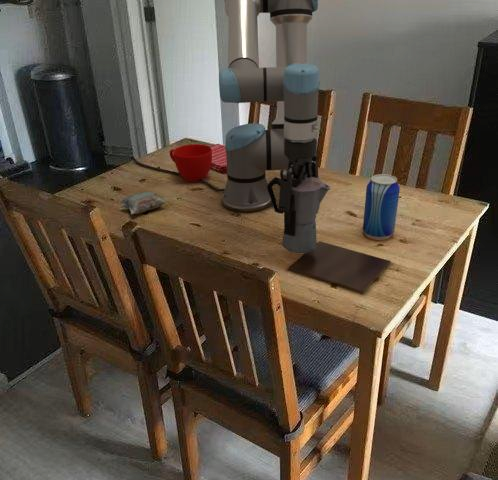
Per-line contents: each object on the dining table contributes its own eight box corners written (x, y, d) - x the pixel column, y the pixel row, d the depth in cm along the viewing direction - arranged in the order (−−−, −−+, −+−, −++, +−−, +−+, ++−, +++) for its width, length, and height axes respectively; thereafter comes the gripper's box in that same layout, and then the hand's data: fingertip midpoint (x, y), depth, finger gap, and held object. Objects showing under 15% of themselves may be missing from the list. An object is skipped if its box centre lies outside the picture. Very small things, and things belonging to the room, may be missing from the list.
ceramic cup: (184, 167, 196) (182, 140, 191) (221, 176, 187) (219, 147, 182) (160, 178, 187) (156, 150, 182) (197, 188, 179) (194, 159, 173)
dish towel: (224, 174, 189) (223, 167, 187) (184, 158, 204) (183, 151, 202) (260, 161, 198) (260, 154, 196) (219, 147, 213) (219, 140, 211)
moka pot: (326, 257, 133) (329, 181, 122) (264, 253, 136) (262, 178, 125) (329, 238, 140) (332, 165, 129) (271, 235, 144) (269, 163, 132)
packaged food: (167, 209, 166) (165, 194, 163) (132, 220, 160) (129, 204, 158) (154, 200, 172) (152, 186, 169) (120, 211, 166) (117, 196, 164)
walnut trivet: (288, 270, 134) (288, 267, 133) (319, 243, 144) (319, 241, 144) (362, 294, 124) (362, 291, 123) (390, 263, 135) (390, 260, 134)
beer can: (387, 244, 143) (394, 187, 134) (357, 237, 147) (362, 181, 138) (398, 231, 149) (405, 176, 140) (369, 224, 153) (374, 170, 144)
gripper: (290, 154, 114) (289, 248, 127) (336, 128, 128) (331, 215, 141) (261, 148, 118) (263, 240, 130) (309, 124, 132) (306, 209, 144)
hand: (298, 227), depth 135 cm, fingers closed on moka pot, 8 cm apart
